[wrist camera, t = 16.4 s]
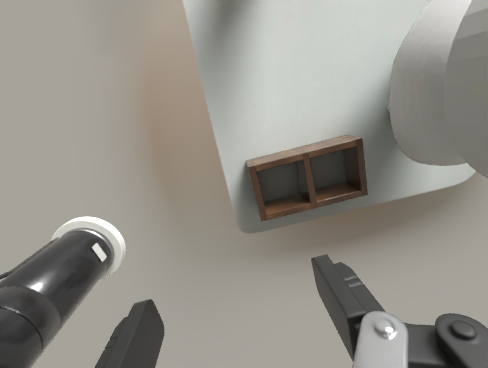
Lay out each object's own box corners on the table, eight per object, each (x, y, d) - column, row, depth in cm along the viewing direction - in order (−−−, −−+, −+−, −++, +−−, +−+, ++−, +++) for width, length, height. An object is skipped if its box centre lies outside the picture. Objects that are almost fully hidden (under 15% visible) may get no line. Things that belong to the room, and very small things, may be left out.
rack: (258, 209, 43) (261, 221, 38) (245, 160, 40) (248, 167, 36) (352, 185, 43) (368, 194, 38) (346, 134, 40) (362, 137, 35)
